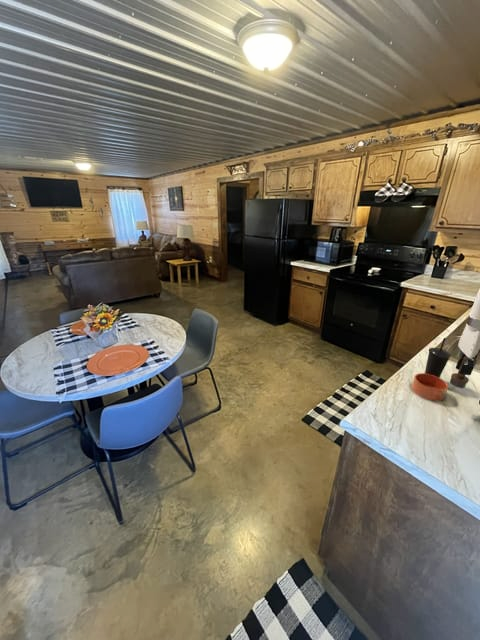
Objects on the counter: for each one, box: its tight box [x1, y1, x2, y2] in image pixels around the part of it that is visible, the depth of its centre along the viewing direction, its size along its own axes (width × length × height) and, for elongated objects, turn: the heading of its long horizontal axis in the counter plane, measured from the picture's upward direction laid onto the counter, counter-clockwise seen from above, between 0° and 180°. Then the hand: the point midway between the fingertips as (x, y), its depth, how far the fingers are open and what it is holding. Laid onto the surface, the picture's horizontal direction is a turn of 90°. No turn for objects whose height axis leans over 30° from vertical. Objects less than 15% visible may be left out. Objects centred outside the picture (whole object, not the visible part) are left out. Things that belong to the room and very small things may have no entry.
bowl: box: [411, 372, 449, 402], centre depth 105 cm, size 11×11×5 cm
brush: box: [449, 356, 473, 389], centre depth 92 cm, size 5×5×11 cm
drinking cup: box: [424, 337, 452, 378], centre depth 109 cm, size 8×8×20 cm
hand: (462, 371), depth 92 cm, fingers closed on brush
